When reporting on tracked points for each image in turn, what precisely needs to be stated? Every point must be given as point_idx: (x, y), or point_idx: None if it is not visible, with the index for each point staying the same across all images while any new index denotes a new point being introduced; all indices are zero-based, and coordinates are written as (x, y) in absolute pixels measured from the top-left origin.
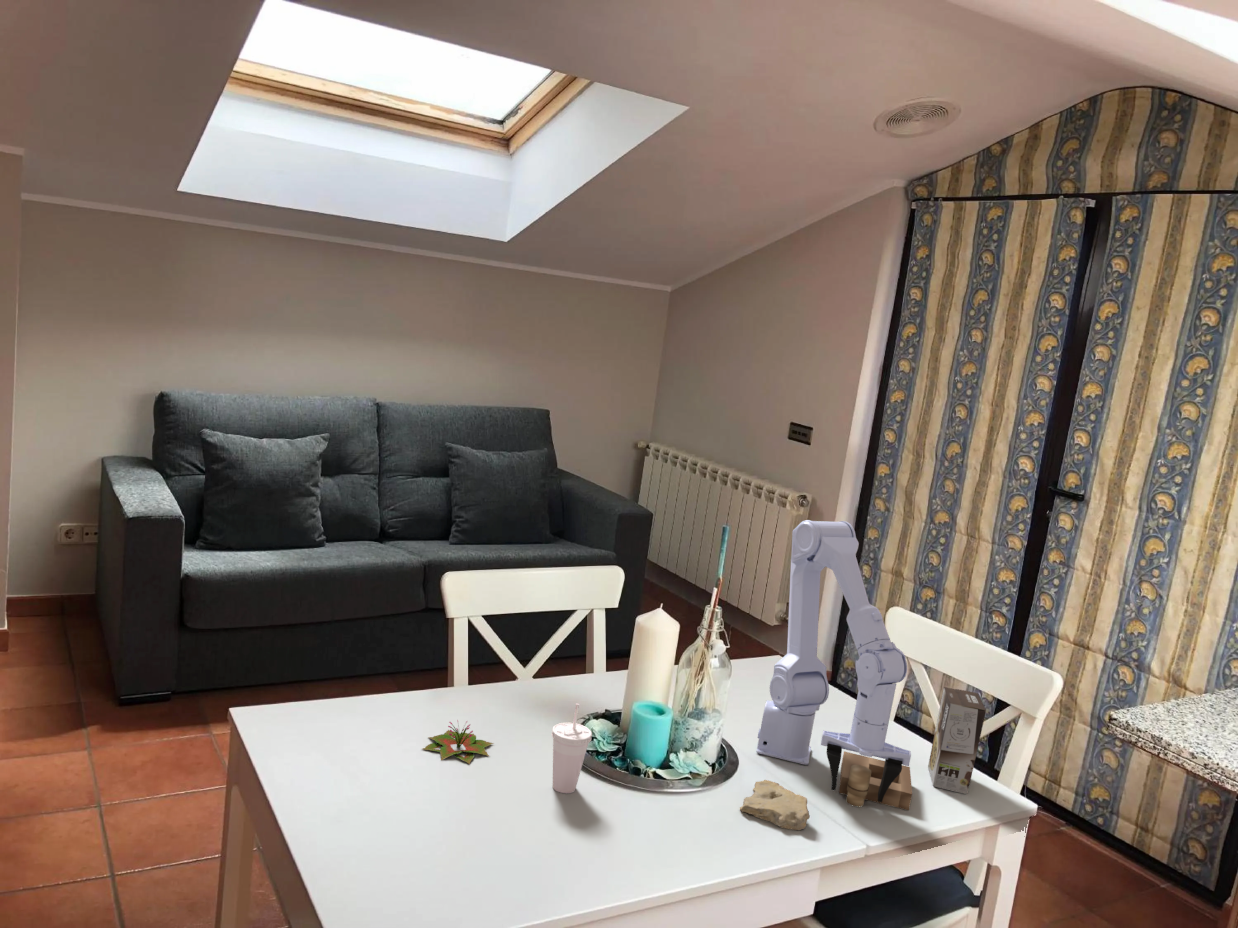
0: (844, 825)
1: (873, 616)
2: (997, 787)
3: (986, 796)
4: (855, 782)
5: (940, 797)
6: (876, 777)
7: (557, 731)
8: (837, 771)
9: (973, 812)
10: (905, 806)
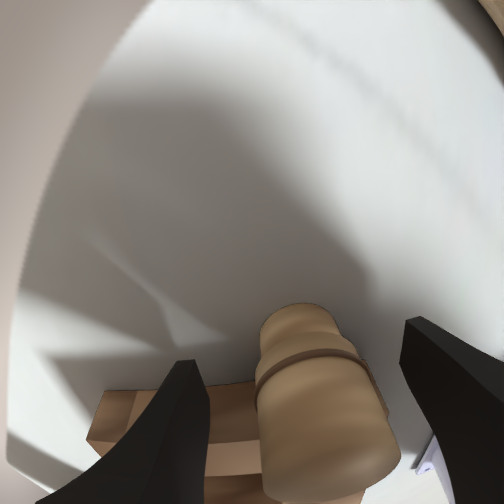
0: (310, 64)
1: None
2: None
3: (51, 479)
4: (344, 384)
5: (92, 465)
6: (251, 480)
7: None
8: (476, 375)
9: (20, 433)
10: (113, 399)
